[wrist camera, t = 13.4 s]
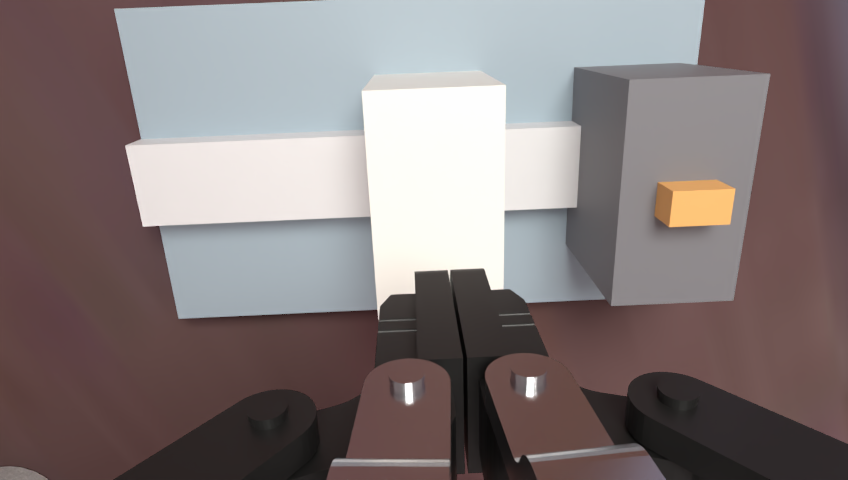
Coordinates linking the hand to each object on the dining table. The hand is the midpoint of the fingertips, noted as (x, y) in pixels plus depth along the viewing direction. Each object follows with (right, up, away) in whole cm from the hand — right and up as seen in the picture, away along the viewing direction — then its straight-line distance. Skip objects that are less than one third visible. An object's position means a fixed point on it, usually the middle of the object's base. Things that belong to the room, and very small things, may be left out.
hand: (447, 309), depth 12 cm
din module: (0, +5, +13) cm, 14 cm away
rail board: (-1, +5, +15) cm, 16 cm away
